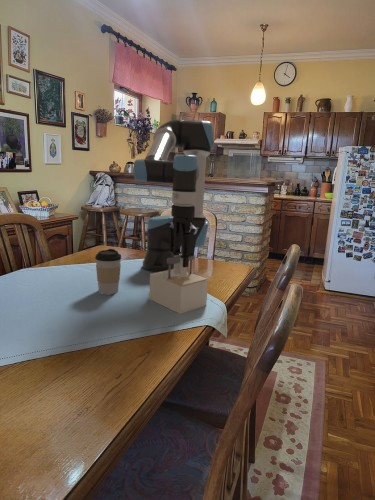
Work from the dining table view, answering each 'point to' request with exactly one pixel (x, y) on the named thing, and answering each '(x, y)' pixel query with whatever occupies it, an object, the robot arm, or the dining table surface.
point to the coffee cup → (108, 271)
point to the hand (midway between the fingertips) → (180, 274)
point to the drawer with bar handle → (183, 280)
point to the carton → (177, 293)
